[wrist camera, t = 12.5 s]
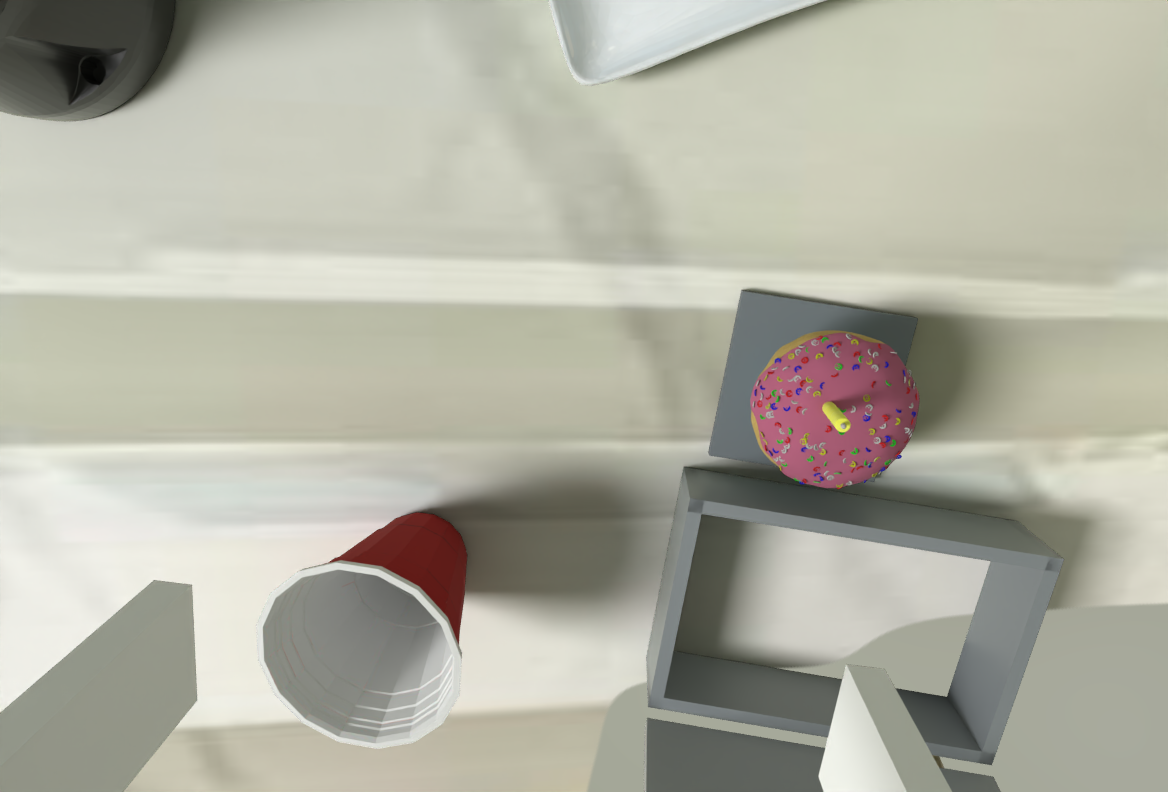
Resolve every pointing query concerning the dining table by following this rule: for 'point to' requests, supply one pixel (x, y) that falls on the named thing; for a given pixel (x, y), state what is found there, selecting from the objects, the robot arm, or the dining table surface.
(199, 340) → the dining table surface
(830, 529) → the case
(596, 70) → the salad plate
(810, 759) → the lid
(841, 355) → the cupcake
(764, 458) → the mat
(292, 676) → the plastic cup
